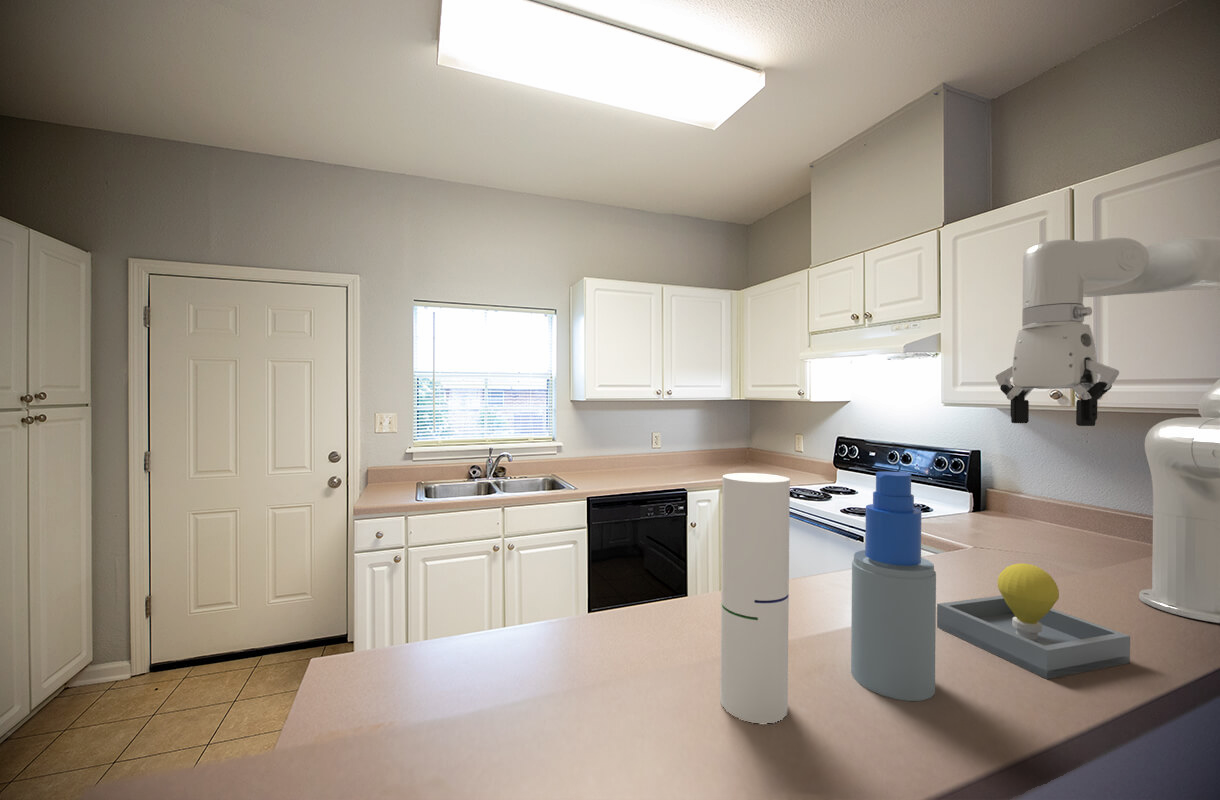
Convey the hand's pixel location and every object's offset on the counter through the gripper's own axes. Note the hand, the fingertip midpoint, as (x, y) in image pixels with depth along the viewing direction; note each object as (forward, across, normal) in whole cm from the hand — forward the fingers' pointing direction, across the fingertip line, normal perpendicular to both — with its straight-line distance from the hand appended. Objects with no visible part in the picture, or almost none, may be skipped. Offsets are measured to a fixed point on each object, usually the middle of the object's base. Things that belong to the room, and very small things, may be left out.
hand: (1051, 424), depth 84 cm
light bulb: (+30, -7, +16) cm, 34 cm away
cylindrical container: (+31, -10, +61) cm, 69 cm away
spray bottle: (+31, -10, +42) cm, 53 cm away
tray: (+30, -8, +16) cm, 35 cm away
